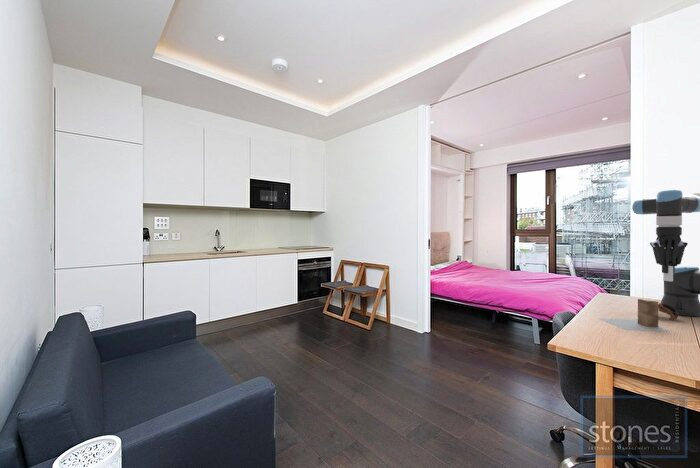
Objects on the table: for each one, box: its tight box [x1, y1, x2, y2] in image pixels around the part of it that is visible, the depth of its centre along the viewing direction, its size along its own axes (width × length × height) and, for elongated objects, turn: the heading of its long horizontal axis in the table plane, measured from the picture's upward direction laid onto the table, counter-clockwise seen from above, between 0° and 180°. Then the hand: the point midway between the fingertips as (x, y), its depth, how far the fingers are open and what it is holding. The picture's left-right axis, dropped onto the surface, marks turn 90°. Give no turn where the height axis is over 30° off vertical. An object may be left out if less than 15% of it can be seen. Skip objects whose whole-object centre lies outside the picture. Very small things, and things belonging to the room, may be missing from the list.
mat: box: [597, 317, 673, 332], centre depth 131 cm, size 18×16×1 cm
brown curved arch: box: [658, 302, 679, 321], centre depth 140 cm, size 12×10×8 cm
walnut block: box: [637, 298, 659, 327], centre depth 129 cm, size 4×4×11 cm
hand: (668, 280), depth 128 cm, fingers closed
